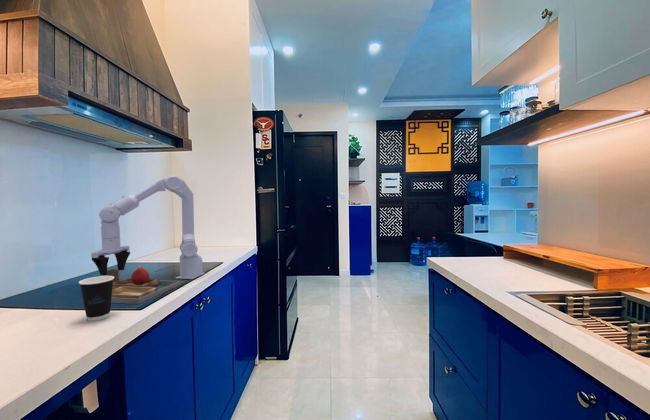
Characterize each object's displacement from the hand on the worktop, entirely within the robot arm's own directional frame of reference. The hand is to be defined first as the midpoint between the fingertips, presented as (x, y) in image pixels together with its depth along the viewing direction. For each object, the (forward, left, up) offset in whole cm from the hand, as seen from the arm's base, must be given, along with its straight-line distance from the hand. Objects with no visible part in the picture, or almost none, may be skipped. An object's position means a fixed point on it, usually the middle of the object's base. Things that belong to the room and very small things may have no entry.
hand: (112, 272), depth 110 cm
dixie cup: (+26, +22, -6) cm, 35 cm away
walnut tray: (0, +7, -6) cm, 9 cm away
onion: (0, +12, -5) cm, 13 cm away
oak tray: (+10, +15, -6) cm, 19 cm away
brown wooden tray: (+5, +17, -6) cm, 19 cm away
